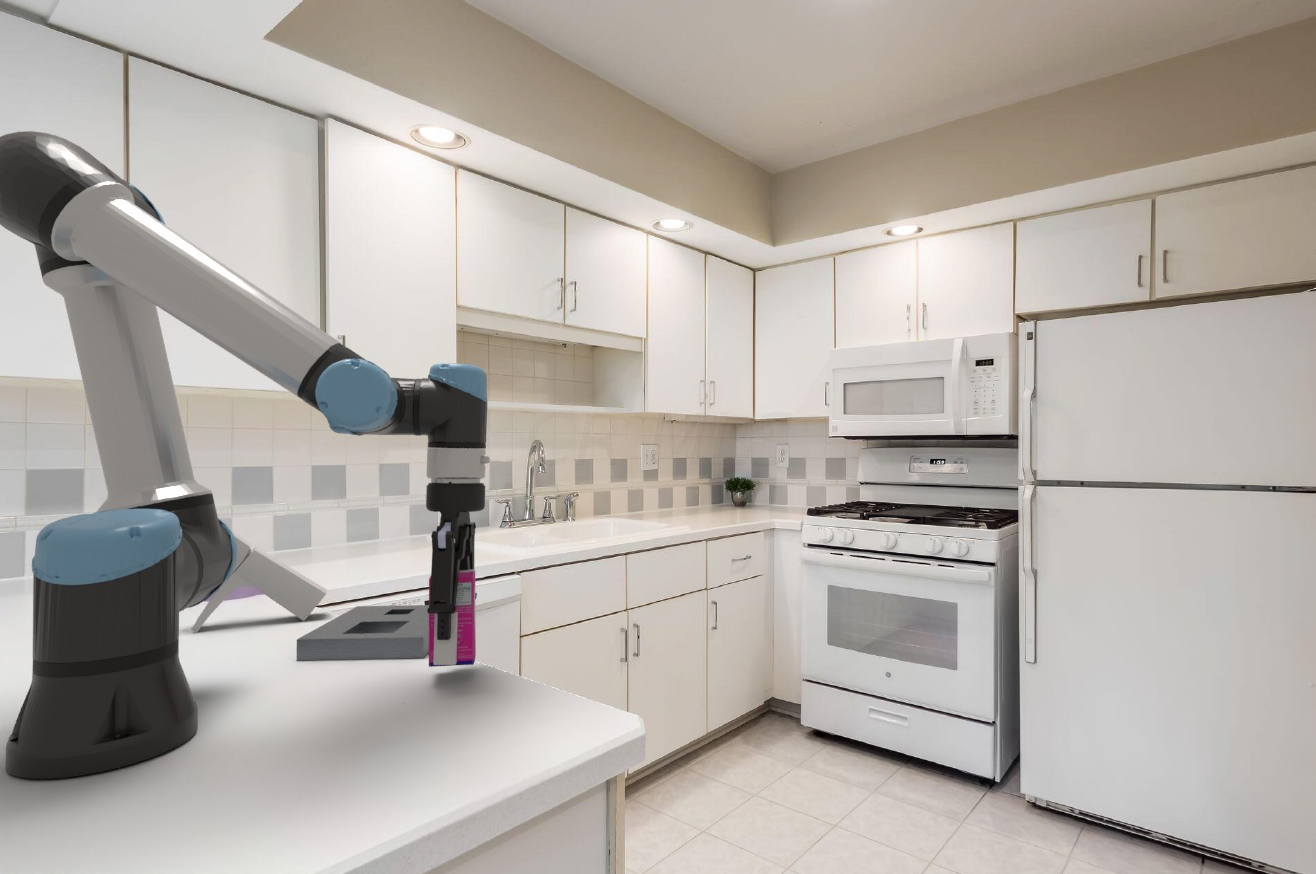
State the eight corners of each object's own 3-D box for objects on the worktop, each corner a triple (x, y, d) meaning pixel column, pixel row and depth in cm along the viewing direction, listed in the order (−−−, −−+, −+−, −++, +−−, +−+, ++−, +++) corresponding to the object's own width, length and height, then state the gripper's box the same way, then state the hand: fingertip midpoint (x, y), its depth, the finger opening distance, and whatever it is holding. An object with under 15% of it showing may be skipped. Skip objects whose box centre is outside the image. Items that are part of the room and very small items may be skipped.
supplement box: (430, 655, 93) (433, 569, 94) (476, 653, 94) (478, 568, 95) (426, 667, 88) (428, 576, 88) (474, 665, 89) (476, 575, 89)
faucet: (327, 592, 124) (227, 527, 118) (261, 672, 119) (152, 608, 112) (326, 587, 130) (230, 524, 123) (262, 663, 125) (158, 601, 118)
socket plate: (423, 658, 100) (423, 637, 100) (296, 660, 99) (296, 639, 99) (460, 621, 122) (460, 604, 122) (357, 623, 121) (357, 606, 121)
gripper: (467, 484, 82) (463, 679, 82) (498, 479, 102) (495, 637, 101) (404, 483, 82) (398, 679, 81) (447, 478, 101) (443, 637, 101)
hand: (452, 655), depth 91 cm, fingers closed on supplement box, 6 cm apart
